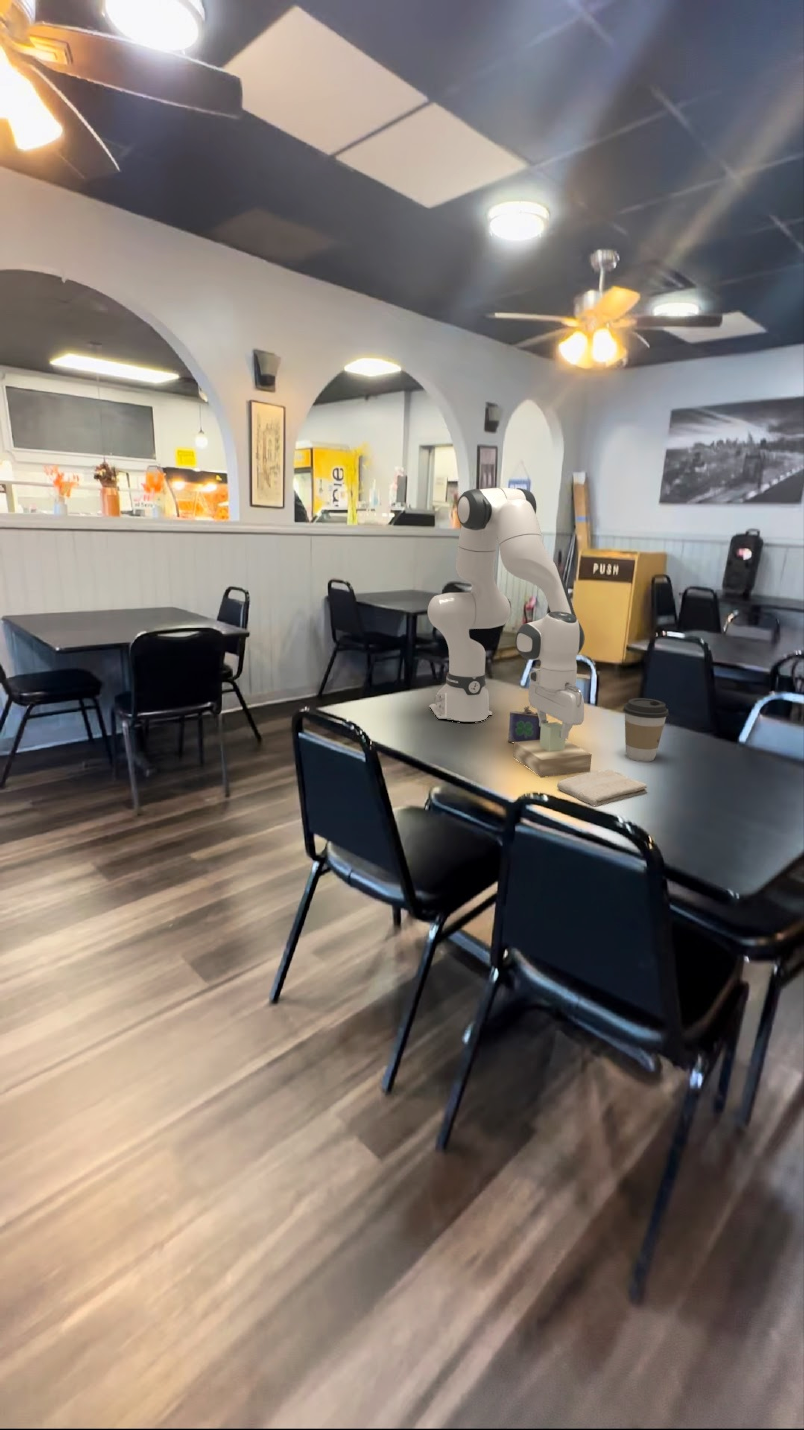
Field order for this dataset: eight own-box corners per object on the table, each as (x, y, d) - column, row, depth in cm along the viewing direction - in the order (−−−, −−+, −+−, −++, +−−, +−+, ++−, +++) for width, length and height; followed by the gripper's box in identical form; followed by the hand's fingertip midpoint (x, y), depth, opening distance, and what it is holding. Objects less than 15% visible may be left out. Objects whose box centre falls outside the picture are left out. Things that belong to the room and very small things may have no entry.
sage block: (539, 746, 171) (541, 723, 169) (554, 744, 172) (556, 722, 171) (548, 751, 167) (550, 728, 165) (564, 749, 168) (566, 726, 166)
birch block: (513, 760, 175) (514, 742, 174) (559, 755, 179) (561, 737, 178) (540, 779, 162) (541, 759, 161) (589, 773, 167) (591, 754, 165)
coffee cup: (666, 766, 171) (673, 709, 167) (620, 762, 173) (626, 706, 169) (659, 752, 181) (666, 698, 177) (615, 748, 184) (621, 695, 179)
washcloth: (649, 794, 154) (651, 781, 153) (594, 810, 145) (595, 796, 144) (609, 777, 164) (611, 765, 163) (555, 791, 155) (556, 779, 154)
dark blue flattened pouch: (506, 742, 187) (509, 706, 184) (509, 740, 190) (512, 703, 187) (539, 747, 184) (542, 710, 181) (542, 744, 186) (545, 707, 183)
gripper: (593, 687, 156) (588, 744, 160) (547, 669, 175) (543, 720, 178) (570, 689, 154) (565, 746, 158) (525, 671, 172) (522, 722, 176)
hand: (553, 732), depth 168 cm, fingers open, 8 cm apart
